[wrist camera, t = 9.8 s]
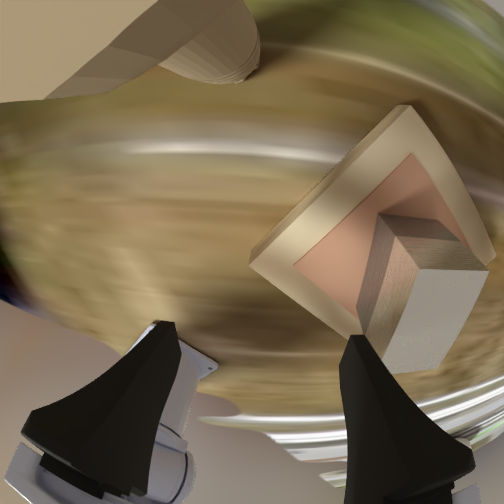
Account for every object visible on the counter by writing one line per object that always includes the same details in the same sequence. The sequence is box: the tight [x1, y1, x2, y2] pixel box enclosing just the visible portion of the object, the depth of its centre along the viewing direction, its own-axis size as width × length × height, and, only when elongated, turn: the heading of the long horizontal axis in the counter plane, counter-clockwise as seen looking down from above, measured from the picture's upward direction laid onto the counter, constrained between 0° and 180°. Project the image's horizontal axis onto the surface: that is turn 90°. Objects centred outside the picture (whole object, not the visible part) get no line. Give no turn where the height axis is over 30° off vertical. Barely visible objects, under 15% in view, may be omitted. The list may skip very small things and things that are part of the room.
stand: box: [248, 105, 496, 340], centre depth 17 cm, size 14×14×2 cm
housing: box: [356, 213, 489, 374], centre depth 14 cm, size 4×7×6 cm, turn 0°
